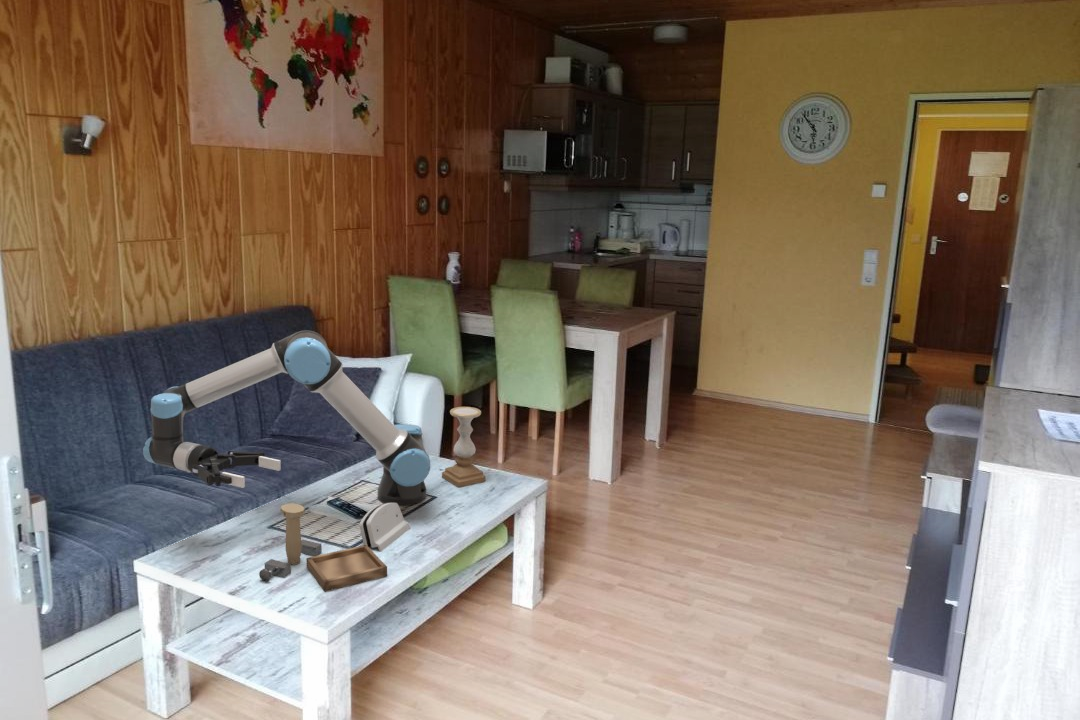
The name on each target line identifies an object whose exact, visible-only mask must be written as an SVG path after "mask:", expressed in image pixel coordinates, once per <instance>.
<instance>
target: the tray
mask: <svg viewBox="0 0 1080 720" xmlns="http://www.w3.org/2000/svg"><path fill="white" fill-rule="evenodd" d="M305 561H306V568H307V569H308V571H309V573H310V574H311V575H312V576H313V577H314V579H315V580H316V581H317V583H318V585H319V586H320V587H321V589H323V591H324V592H328V591H334V590H337V589H340V588H344V587H348V586H353V585H357V584H361V583H364V582H368V581H373V580H377V579H380V578H384V577H388V566H387V565H386V564H385V562H383V561H382V560H381V559H380V558H379V557H378V556H377V554H375V552H374V551H373V550H372V549H371V547H368V546H367V545H364V544H363V545H359V546H355V547H350V548H345V549H341V550H336V551H332V552H331V551H330V552H327V553H324V554H323V553H321V554H319V555H317V556H310V557H307V558H306V559H305Z"/></svg>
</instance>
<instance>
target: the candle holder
mask: <svg viewBox="0 0 1080 720" xmlns="http://www.w3.org/2000/svg"><path fill="white" fill-rule="evenodd" d="M449 413H450V415H451V416H452V417H455V418H457V419H458V421H459V426H458V427H457V428H456V431H457V432H458V434H459V438H458V440H457V441H456V442H455V443H454V446H453V453H454V455H455V458H454V462H455V464H454V465H452V466H450V467H446V468H445V469H444V471H442V472H441V479H444V480H445V481H446V482H448V483H450V484H451V485H453V486H454V487H456V488H464V487H467V486H474V485H477V484H481V483H485V482H486V481H487V480H486V475H485V474H484V472H483V471H482V470H480V469H479V468H478V467H476V466H475V465H474V464H473V463H474V457H473V456H474V455H475V454H476V451H477V450H476V446H475V444H474V442H473V441H472V439H471V434H472V432H473V431H474V428H473V427H472V425H471V422H472V420H473V419H474V418H475V419H476V418H478V417H480V416H481V414H482V410H480V409H479V408H477V407H473V406H472V407H471V406H458V407H457V406H456V407H453V408H451V409H450V410H449Z"/></svg>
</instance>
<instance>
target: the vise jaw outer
mask: <svg viewBox="0 0 1080 720" xmlns="http://www.w3.org/2000/svg"><path fill="white" fill-rule="evenodd" d="M291 566H292V564H289V563H288V562H284V561H280V560H276V559H274V558H273V559H271V558H270V559H268V560H267V561H266V562H264V568H262V569H261V570H260V571H259V573H258V575H259V578H260V580H261V581H263V582H268V581H270V580H271V578H272V576H273V575H274V576H277V577H281V578H284V579H285V578H286V577H287V576H290V574H291V573H292V567H291Z"/></svg>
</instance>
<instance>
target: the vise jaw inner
mask: <svg viewBox="0 0 1080 720" xmlns="http://www.w3.org/2000/svg"><path fill="white" fill-rule="evenodd" d="M301 542H302V543H301V544H302V547H301V554H304V555H306V556H307V555H308V556H310V557H313V556H318V555H321V554H323V551H322V543H318V542H315V541H310V540H308V539H301Z"/></svg>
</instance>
